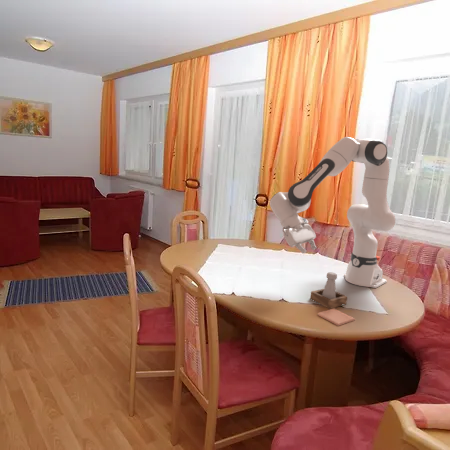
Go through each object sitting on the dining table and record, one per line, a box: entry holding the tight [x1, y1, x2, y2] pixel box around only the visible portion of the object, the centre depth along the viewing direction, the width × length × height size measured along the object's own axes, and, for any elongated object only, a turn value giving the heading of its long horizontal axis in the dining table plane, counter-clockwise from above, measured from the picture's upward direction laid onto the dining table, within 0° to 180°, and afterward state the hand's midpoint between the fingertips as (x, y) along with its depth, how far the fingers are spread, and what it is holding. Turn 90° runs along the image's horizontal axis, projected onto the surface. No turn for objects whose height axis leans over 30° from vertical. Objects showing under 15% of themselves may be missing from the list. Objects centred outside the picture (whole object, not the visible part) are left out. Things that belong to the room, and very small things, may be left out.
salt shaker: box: [322, 271, 338, 299], centre depth 160 cm, size 6×6×13 cm
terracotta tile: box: [317, 308, 356, 327], centre depth 146 cm, size 10×10×1 cm
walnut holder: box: [309, 288, 348, 310], centre depth 161 cm, size 11×11×4 cm
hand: (310, 250), depth 164 cm, fingers open, 8 cm apart
